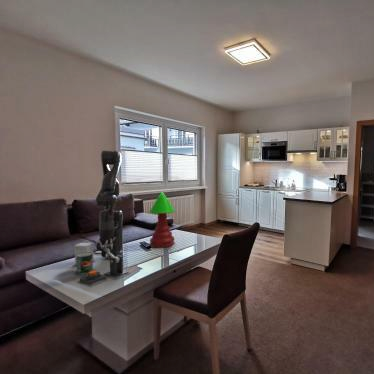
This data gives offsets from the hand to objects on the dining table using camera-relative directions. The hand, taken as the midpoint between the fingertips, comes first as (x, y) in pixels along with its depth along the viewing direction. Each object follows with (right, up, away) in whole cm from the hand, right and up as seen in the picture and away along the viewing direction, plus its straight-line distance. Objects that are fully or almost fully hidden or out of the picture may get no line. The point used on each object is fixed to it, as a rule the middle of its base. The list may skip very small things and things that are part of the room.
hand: (107, 255), depth 139 cm
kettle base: (+7, -10, -3) cm, 13 cm away
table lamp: (+12, -7, +56) cm, 58 cm away
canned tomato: (-13, -10, 0) cm, 17 cm away
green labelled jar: (-23, -9, +13) cm, 28 cm away
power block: (-1, -11, -11) cm, 15 cm away
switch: (+3, -1, -1) cm, 3 cm away
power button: (-1, -7, -11) cm, 13 cm away
